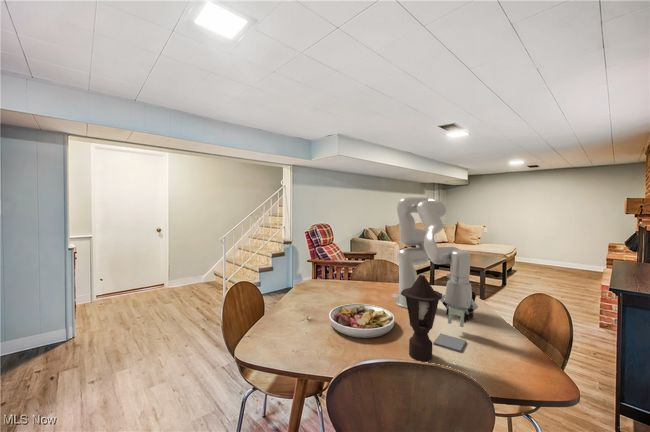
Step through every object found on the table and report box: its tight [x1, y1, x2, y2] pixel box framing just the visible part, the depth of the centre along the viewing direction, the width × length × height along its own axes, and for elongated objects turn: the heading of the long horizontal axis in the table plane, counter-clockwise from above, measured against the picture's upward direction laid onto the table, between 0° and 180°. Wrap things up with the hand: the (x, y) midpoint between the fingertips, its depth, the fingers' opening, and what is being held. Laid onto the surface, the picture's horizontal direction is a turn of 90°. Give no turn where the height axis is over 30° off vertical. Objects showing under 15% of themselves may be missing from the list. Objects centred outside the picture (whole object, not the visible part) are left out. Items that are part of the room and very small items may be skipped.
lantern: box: [401, 274, 443, 363], centre depth 103 cm, size 15×15×30 cm
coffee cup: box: [459, 290, 477, 321], centre depth 138 cm, size 9×8×13 cm
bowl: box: [328, 303, 395, 339], centre depth 130 cm, size 30×30×8 cm
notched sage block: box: [447, 305, 465, 328], centre depth 121 cm, size 6×6×7 cm
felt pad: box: [432, 333, 467, 353], centre depth 113 cm, size 10×10×1 cm
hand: (457, 319), depth 122 cm, fingers closed on notched sage block, 6 cm apart
